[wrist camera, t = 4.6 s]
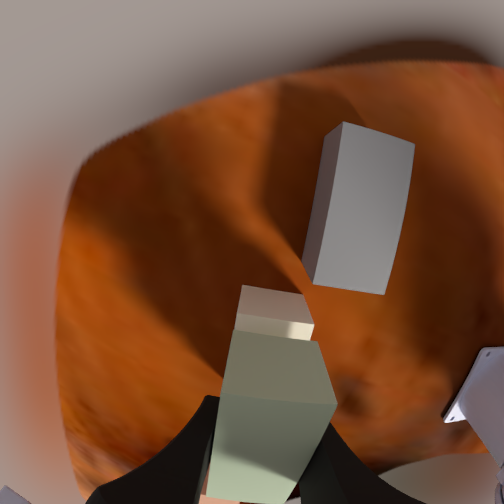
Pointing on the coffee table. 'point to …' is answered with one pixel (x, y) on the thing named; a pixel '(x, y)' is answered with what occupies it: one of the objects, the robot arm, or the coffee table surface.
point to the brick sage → (268, 417)
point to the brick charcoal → (357, 209)
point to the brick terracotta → (210, 502)
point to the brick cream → (273, 313)
